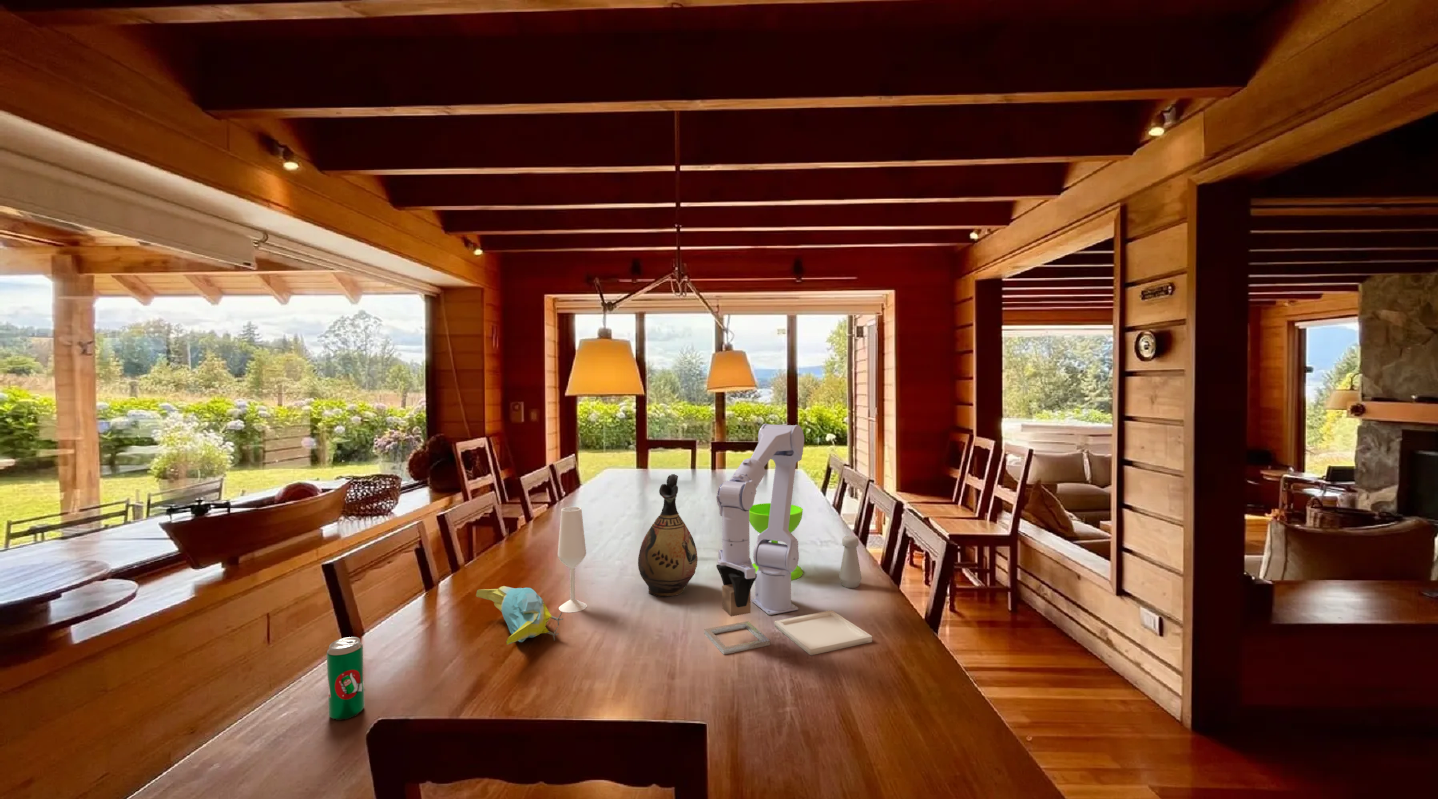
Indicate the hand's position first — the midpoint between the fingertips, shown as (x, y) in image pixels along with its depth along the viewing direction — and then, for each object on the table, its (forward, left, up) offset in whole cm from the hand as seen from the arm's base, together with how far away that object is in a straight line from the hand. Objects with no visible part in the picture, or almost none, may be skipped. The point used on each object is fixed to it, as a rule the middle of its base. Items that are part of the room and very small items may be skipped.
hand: (736, 601), depth 125 cm
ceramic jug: (-34, -4, -8) cm, 35 cm away
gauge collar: (0, 0, -8) cm, 8 cm away
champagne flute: (-32, -29, -8) cm, 44 cm away
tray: (+5, +18, -8) cm, 20 cm away
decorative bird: (-21, -46, -8) cm, 51 cm away
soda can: (-1, -71, -8) cm, 71 cm away
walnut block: (0, 0, -2) cm, 2 cm away
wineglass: (-35, +28, -8) cm, 46 cm away
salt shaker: (-17, +41, -8) cm, 45 cm away
